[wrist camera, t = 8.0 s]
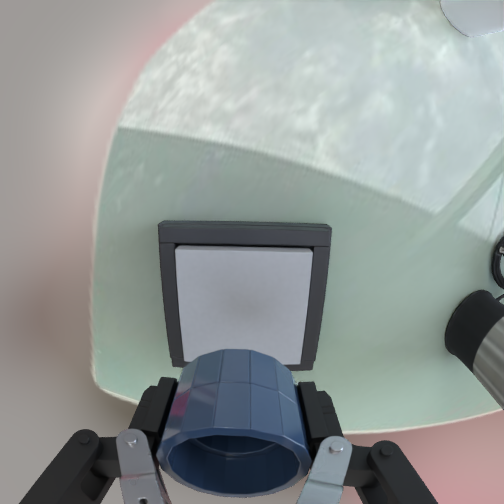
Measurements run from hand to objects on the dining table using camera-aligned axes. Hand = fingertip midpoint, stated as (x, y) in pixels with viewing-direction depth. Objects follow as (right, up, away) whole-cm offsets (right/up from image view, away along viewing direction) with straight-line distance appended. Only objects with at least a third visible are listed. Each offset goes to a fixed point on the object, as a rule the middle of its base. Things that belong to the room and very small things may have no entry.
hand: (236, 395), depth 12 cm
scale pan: (0, +2, +11) cm, 11 cm away
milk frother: (+30, +2, +14) cm, 33 cm away
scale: (0, +3, +13) cm, 13 cm away
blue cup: (0, 0, +1) cm, 1 cm away
